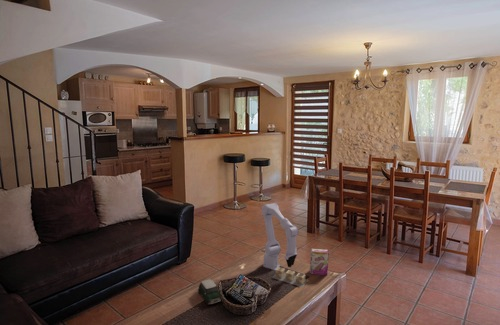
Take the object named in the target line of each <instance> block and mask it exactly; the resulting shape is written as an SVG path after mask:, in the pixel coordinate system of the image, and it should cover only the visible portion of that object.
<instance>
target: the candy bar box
mask: <svg viewBox="0 0 500 325" xmlns="http://www.w3.org/2000/svg"><path fill="white" fill-rule="evenodd" d="M329 254H330V253H329V249H321V248H311V249H310V261H309V274H310V275H319V276H328V270H329V269H328V266H329Z"/></svg>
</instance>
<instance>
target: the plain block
mask: <svg viewBox="0 0 500 325" xmlns="http://www.w3.org/2000/svg"><path fill="white" fill-rule="evenodd" d="M285 273H286V278H285V279H286V280H289V281H293V280H294V279H295V276H296V271H294V270H291V269H288V270H287V271H285Z"/></svg>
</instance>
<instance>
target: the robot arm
mask: <svg viewBox="0 0 500 325" xmlns="http://www.w3.org/2000/svg"><path fill="white" fill-rule="evenodd" d="M261 212H262V217H263V220H264V224H265V232H266V238H267V241H266V243H265V244H264V251H265V252H264V256H263V268H265V269H271V270H274V271H276V269H277V268H278V267H280V266H281V265H280V264H279V255H280V253H281V251H282V247H281V245H280V242H279V241H278V240H276V235H275V229H274V223H273V216H275V218H277V220H278V221H279V224H280V226H281V227H282V229H284V232H285V237H286V252H285V255H284V260H286V265H287V267H288V268H292V266H294V263H295V261H296V258H297V256H298V252H297V251H298V248H297V236H298V235H299V231H300V230H299V228H298V227H297V225H295V224H294V225H293V224H292V222H291V221H290V220H289V219H288V218H287V217H284V215H283V214H282V213H281V211H280V207H279V205H278V203H277V202H272V203H267V204H263V205H262V206H261Z"/></svg>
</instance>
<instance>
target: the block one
mask: <svg viewBox="0 0 500 325" xmlns="http://www.w3.org/2000/svg"><path fill="white" fill-rule="evenodd" d="M285 273H286V269H285V268H284V267H280V266H279V267H278V268H277V269H276V270H275V274H276V277H279V278H283V277H284V275H285Z"/></svg>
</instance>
